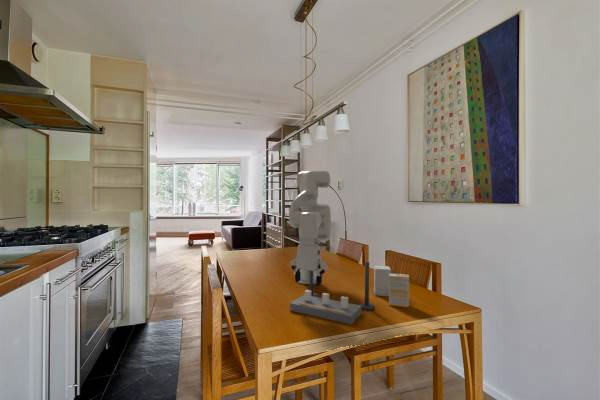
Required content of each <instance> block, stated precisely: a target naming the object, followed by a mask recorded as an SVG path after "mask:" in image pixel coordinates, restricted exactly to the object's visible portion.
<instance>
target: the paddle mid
mask: <svg viewBox="0 0 600 400" xmlns="http://www.w3.org/2000/svg"><path fill="white" fill-rule="evenodd" d="M321 298H322V304H325V305H328V304H329V300H330V293H326V292H323V293H322V294H321Z"/></svg>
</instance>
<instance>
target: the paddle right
mask: <svg viewBox="0 0 600 400" xmlns="http://www.w3.org/2000/svg"><path fill="white" fill-rule="evenodd" d="M340 302H341V308H344V309H347V308H348V303H349V296H342V295H341V297H340Z"/></svg>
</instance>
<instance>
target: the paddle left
mask: <svg viewBox="0 0 600 400" xmlns="http://www.w3.org/2000/svg"><path fill="white" fill-rule="evenodd" d="M304 295H305V296H304V300H305V301H311V291H310V289H306V290H304Z"/></svg>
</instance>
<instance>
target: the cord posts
mask: <svg viewBox="0 0 600 400" xmlns="http://www.w3.org/2000/svg"><path fill="white" fill-rule="evenodd" d="M364 264H365V269H364V302H361V303H359V304H358V305H360V306H362V311H363V310H364V311H374V310H375V305H374V304H373V303H370V299H369V298H370V261H365V262H364ZM309 290H310V291H311V296H313V297H319V294H318V293H316V292H314V284H313V271H311V270H310V284H309Z"/></svg>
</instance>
